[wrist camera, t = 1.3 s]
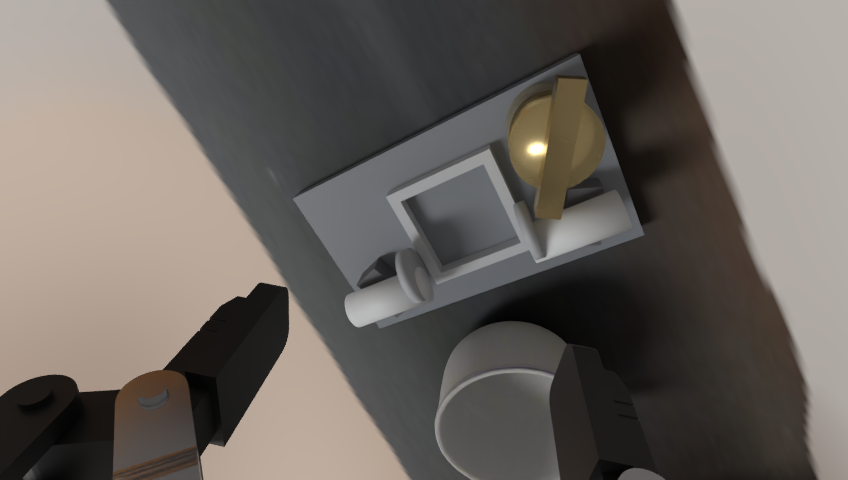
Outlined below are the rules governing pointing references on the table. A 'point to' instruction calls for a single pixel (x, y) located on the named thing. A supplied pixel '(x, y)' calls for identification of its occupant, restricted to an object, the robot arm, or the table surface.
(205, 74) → the table surface
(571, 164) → the gold knob
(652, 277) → the table surface
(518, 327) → the teacup
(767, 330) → the table surface
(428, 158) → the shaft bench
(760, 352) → the table surface
